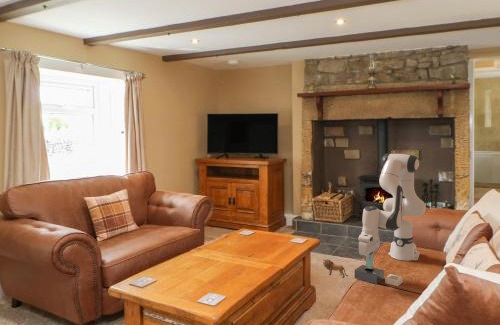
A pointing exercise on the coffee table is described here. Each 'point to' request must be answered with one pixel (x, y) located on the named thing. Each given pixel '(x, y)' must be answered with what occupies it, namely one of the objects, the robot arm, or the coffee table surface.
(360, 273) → the block
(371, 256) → the plug
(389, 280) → the white square block
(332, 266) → the lion figurine
